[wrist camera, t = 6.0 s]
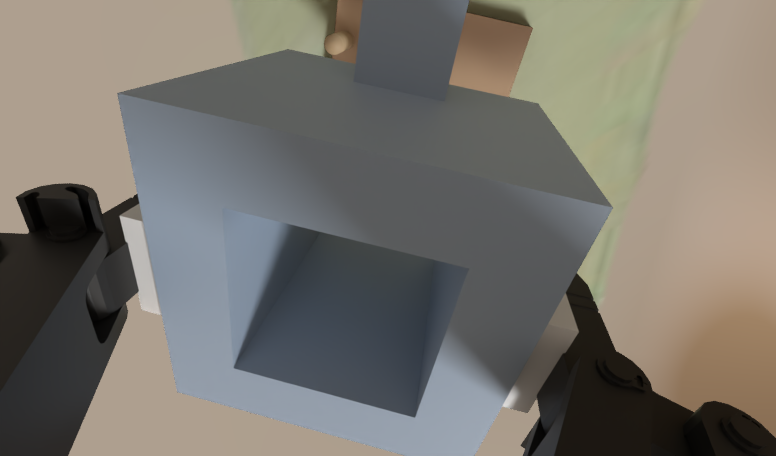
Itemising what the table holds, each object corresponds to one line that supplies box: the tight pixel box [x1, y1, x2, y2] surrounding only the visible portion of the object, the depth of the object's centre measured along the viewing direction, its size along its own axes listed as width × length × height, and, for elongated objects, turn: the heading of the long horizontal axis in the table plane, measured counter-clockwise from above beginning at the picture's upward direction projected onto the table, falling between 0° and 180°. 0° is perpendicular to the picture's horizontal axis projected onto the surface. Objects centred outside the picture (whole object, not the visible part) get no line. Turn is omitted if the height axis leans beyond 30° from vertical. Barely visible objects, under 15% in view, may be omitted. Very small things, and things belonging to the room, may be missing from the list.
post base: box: [332, 0, 533, 97], centre depth 26 cm, size 13×13×7 cm
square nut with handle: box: [118, 0, 613, 456], centre depth 10 cm, size 12×8×7 cm
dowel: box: [324, 31, 354, 55], centre depth 26 cm, size 1×1×3 cm
